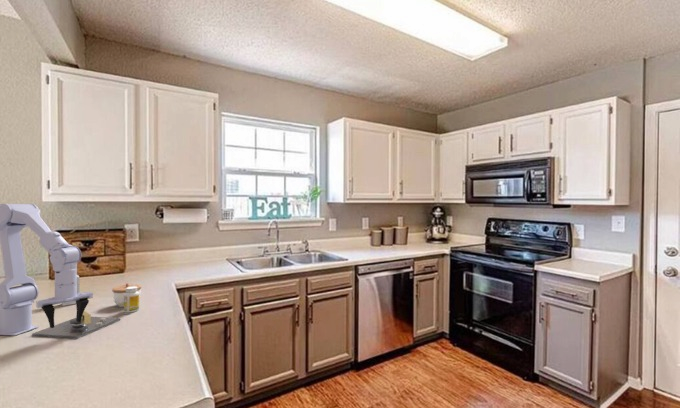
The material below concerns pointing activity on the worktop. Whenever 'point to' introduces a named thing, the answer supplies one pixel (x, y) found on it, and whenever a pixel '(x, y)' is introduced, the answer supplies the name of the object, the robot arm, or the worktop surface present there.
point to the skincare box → (77, 293)
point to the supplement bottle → (131, 300)
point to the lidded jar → (122, 293)
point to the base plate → (76, 328)
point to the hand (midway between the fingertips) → (65, 324)
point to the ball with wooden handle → (82, 319)
